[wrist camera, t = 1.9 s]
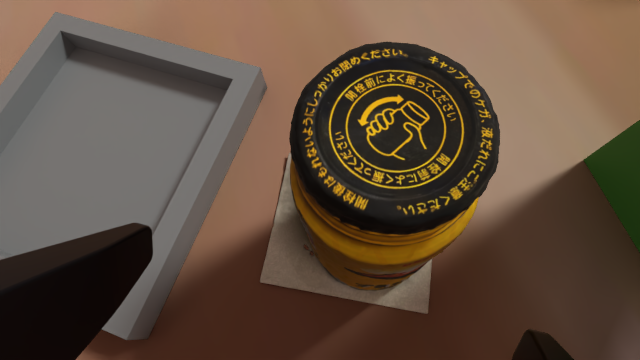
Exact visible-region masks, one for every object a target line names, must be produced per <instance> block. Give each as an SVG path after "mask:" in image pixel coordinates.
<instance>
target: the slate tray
mask: <svg viewBox="0 0 640 360" xmlns="http://www.w3.org/2000/svg"><path fill="white" fill-rule="evenodd" d="M266 89H267V86H266V83H265V80H264V77H263V74H262V71H261V68H260V67H256V66H253V65H249V64H245V63H242V62H238V61H234V60H231V59H227V58H223V57H220V56H216V55H212V54H208V53H205V52H201V51H197V50H194V49H190V48H186V47H183V46H179V45H175V44H172V43H168V42H164V41H161V40H157V39H153V38H150V37H146V36H142V35H139V34H135V33H131V32H128V31H124V30H120V29H117V28H113V27H109V26H106V25H102V24H98V23H94V22H91V21H87V20H83V19H80V18H76V17H72V16H69V15H65V14H61V13H58V12H55V13H54V14H53V16H52V17H51V18H50V20H49V21H48V22H47V24H46V25H45V26H44V28H43V29H42V30H41V32H40V33H39V34H38V36H37V37H36V38H35V40H34V41H33V43H32V44H31V45H30V47H29V48H28V49H27V51H26V52H25V53H24V55H23V56H22V57H21V59H20V60H19V61H18V63H17V64H16V65H15V67H14V68H13V69H12V71H11V72H10V73H9V75H8V76H7V77H6V79H5V80H4V81H3V83H2V84H1V85H0V260H1V259H4V258H8V257H12V256H15V255H19V254H22V253H26V252H30V251H33V250H37V249H40V248H44V247H47V246H51V245H55V244H58V243H62V242H65V241H69V240H73V239H76V238H80V237H83V236H87V235H90V234H94V233H98V232H101V231H105V230H108V229H112V228H115V227H119V226H123V225H126V224H130V223H140V224H144V225H148V226H149V227H150V228H151V229H152V239H153V257H152V260H151V262H150V264H149V265H148V266H147V268H146V269H145V271H144V272H143V274H142V275H141V277H140V278H139V279H138V281H137V282H136V284H135V285H134V287H133V288H132V290H131V291H130V292H129V294H128V295H127V297H126V298H125V300H124V301H123V303H122V304H121V305H120V307H119V308H118V309H117V311H116V312H115V313H114V315H113V316H112V317H111V318H110V320H109V321H108V322H107V323H106V324H105V325H104V327H103V328H102V330H105V331H107V332H109V333H111V334H114V335H116V336H118V337H121V338H123V339H125V340H139V339H148V337H149V335H150V333H151V331H152V329H153V327H154V325H155V323H156V320H157V318H158V316H159V314H160V312H161V310H162V308H163V306H164V304H165V302H166V299H167V297H168V295H169V293H170V291H171V289H172V287H173V285H174V283H175V280H176V278H177V276H178V274H179V272H180V270H181V268H182V266H183V264H184V262H185V259H186V257H187V255H188V253H189V251H190V249H191V247H192V245H193V243H194V241H195V238H196V236H197V234H198V232H199V230H200V228H201V226H202V224H203V222H204V219H205V217H206V215H207V213H208V211H209V209H210V207H211V205H212V203H213V201H214V198H215V196H216V194H217V192H218V190H219V188H220V186H221V184H222V182H223V180H224V177H225V175H226V173H227V171H228V169H229V167H230V165H231V163H232V161H233V158H234V156H235V154H236V152H237V150H238V148H239V146H240V144H241V142H242V140H243V137H244V135H245V133H246V131H247V129H248V127H249V125H250V123H251V121H252V119H253V116H254V114H255V112H256V110H257V108H258V106H259V104H260V102H261V100H262V97H263V95H264V93H265V91H266Z"/></svg>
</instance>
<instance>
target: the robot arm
mask: <svg viewBox="0 0 640 360" xmlns="http://www.w3.org/2000/svg"><path fill="white" fill-rule="evenodd" d="M152 257H153V239H152V229H151V228H150V227H149V226H148V225H144V224H140V223H130V224H126V225H123V226H119V227H115V228H112V229H108V230H105V231H101V232H98V233H94V234H90V235H87V236H83V237H80V238H76V239H73V240H69V241H65V242H62V243H58V244H55V245H51V246H47V247H44V248H40V249H37V250H33V251H30V252H26V253H22V254H19V255H15V256H12V257H8V258H4V259H1V260H0V360H76V358H77V357H78V356H79V355H80V354H81V353H82V351H83V350H84V349H85V348H86V347H87V345H88V344H89V343H90V342H91V341H92V340H93V338H94V337H95V336H96V335H97V334H98V333H99V331H100V330H101V329H102V328H103V327H104V325H105V324H106V323H107V322H108V321H109V320H110V318H111V317H112V316H113V315H114V313H115V312H116V311H117V309H118V308H119V307H120V305H121V304H122V303H123V301H124V300H125V298H126V297H127V295H128V294H129V292H130V291H131V290H132V288H133V287H134V285H135V284H136V282H137V281H138V279H139V278H140V277H141V275H142V274H143V272H144V271H145V269H146V268H147V266H148V265H149V264H150V262H151V260H152ZM512 360H574V359H573V358H572V357H571V356H570V355H569V354H568V353H567V352H566V351H565V350H564V349H563V348H562V347H561V346H560V345H559V344H558V343H557V342H556V340H555V339H554V338H553V337H552V336H550V335H549V334H547V333H544V332H541V331H537V330H533V329H528V330H527V331H525V333H524V335H523V337H522V339H521V341H520V343H519V344H518V346H517V348H516V350H515V352H514V355H513V358H512Z"/></svg>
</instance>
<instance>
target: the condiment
mask: <svg viewBox="0 0 640 360" xmlns="http://www.w3.org/2000/svg"><path fill="white" fill-rule="evenodd" d="M289 139H290V145H291V153H289V156H288V160H287V165H286V171H285V175H284V179H283V184H282V188H281V193H280V197H279V202H278V206H277V210H276V215H275V219H274V226H273V228H272V232H271V236H270V240H269V244H268V249H267V254H266V258H265V261H264V265H263V270H262V274H261V278H260V282H261V283H267V284H272V285H277V286H283V287H288V288H293V289H299V290H305V291H310V292H315V293H320V294H325V295H330V296H335V297H340V298H346V299H351V300H356V301H361V302H367V303H372V304H377V305H383V306H388V307H393V308H399V309H404V310H409V311H415V312H420V313H426V314H428V304H429V293H430V281H431V266H432V258H433V257H435V256H437V255H438V254H440V253H442V252H443V250H444V249H446V248H447V247H448V246H449V245H450V244H451V243H452V242H454V241H455V239H456V238H457V237H458V236H459V235H460V234H461V233H462V232H463V230H464V229H465V227H466V226H467V224H468V222H469V221H470V219H471V218H472V216H473V214H474V211H475V209H476V206H477V202H478V198H479V197H480V196H481V195H482V194H483V192H484V191H485V190H486V188H487V185H488V182H489V180H490V179H491V177H492V176H493V174H494V173H495V171H496V168H497V164H498V154H499V145H500V129H499V123H498V118H497V115H496V113H495V112H494V110H493V107H492V103H491V100H490V98H489V97H488V95H487V93H486V92H485V90H484V89H483V88H482V87H481V86H480V85H479V84H478V82H477V81H476V80H475V78H474V77H473V76H472V75H470V74H469V73H468V71H467V70H466V68H465V67H463V66H462V65H461V64H459V63H457V62H455V61H453V60H452V59H450V58H449V57H447V56H445V55H442V54H440V53H437V52H435V51H433V50H431V49H429V48H425V47H422V46H419V45H416V44H408V43H392V42H381V43H376V44H365V45H363V46H360V47H358V48H355V49H352V50H349V51H347V52H346V53H345V54H343V55H341V56H340V57H338V58H337V59H336V60H334V61H333V62H332V63H330V64H329V65H327V66H326V67H324V68H323V69H322V70H321V71H320V72H319V73H318V74H317V75H316V76H315V77H314V78H313V79H312V80H311V81H310V82H309V83H308V84H307V85H306V86H305V88H304V89H303V91H302V92H301V96H300V98H299V99H298V102H297V104H296V107H295V110H294V114H293V119H292V122H291V131H290V138H289ZM305 244H306V245H307V246H308V248H309V250H306V249H305V248H304V245H305ZM310 251H313V253H314V255H313V256H311V254H310Z"/></svg>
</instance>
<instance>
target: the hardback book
mask: <svg viewBox="0 0 640 360" xmlns="http://www.w3.org/2000/svg"><path fill="white" fill-rule="evenodd" d="M584 162H585V163H586V165H587V167H588V168H589V170H590V172H591V173H592V175H593V176H594V178H595V180H596V181H597V183H598V185H599V186H600V188H601V190H602V191H603V193H604V195H605V196H606V198H607V200H608V201H609V203H610V205H611V206H612V208H613V209H614V211H615V213H616V214H617V216H618V218H619V219H620V221H621V223H622V224H623V226H624V228H625V229H626V231H627V233H628V234H629V236H630V238H631V239H632V241H633V242H634V244H635V246H636V247H637V249H638V251H639V252H640V120H639V121H637V122H636V123H635V124H633V125H632V126H630V127H629V128H628V129H626V130H625V131H623V132H622V133H621V134H619V135H618V136H616V137H615V138H614V139H612V140H611V141H609V142H608V143H607V144H605V145H604V146H602V147H601V148H600V149H598V150H597V151H595V152H594V153H593V154H591V155H590V156H588V157H587V158H586V159H584Z"/></svg>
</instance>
